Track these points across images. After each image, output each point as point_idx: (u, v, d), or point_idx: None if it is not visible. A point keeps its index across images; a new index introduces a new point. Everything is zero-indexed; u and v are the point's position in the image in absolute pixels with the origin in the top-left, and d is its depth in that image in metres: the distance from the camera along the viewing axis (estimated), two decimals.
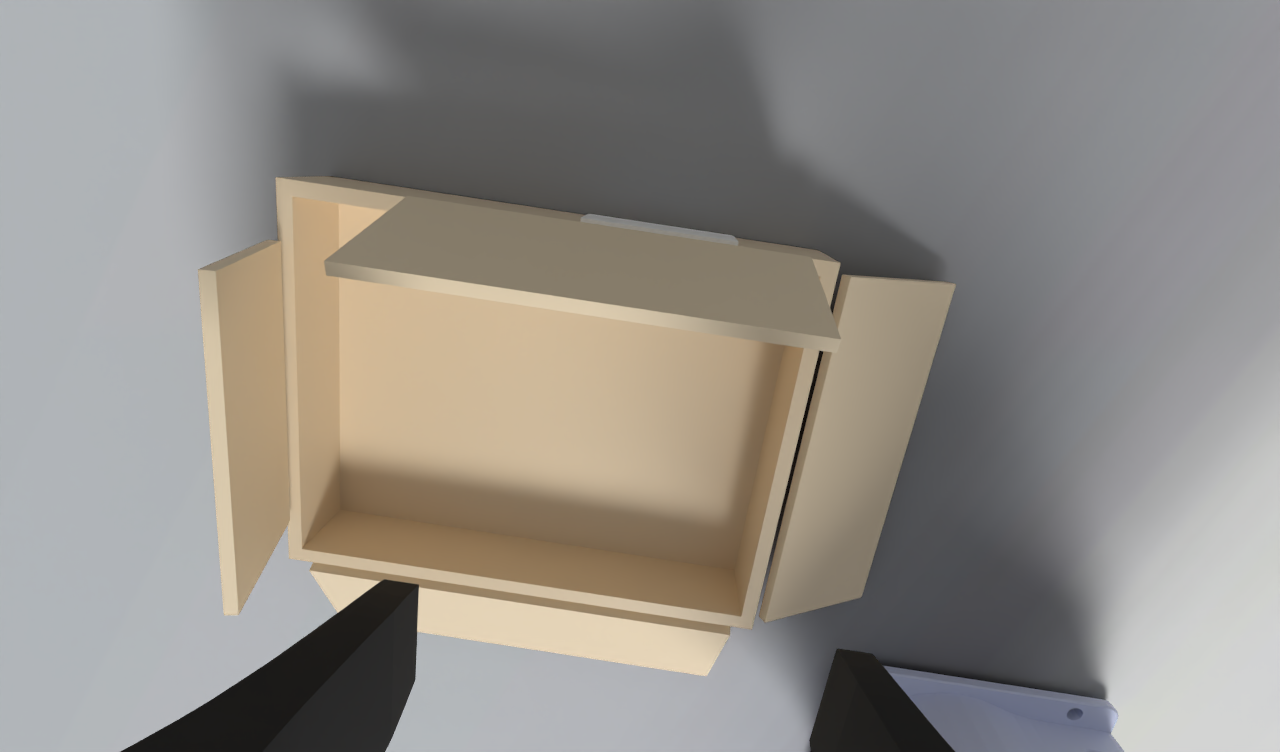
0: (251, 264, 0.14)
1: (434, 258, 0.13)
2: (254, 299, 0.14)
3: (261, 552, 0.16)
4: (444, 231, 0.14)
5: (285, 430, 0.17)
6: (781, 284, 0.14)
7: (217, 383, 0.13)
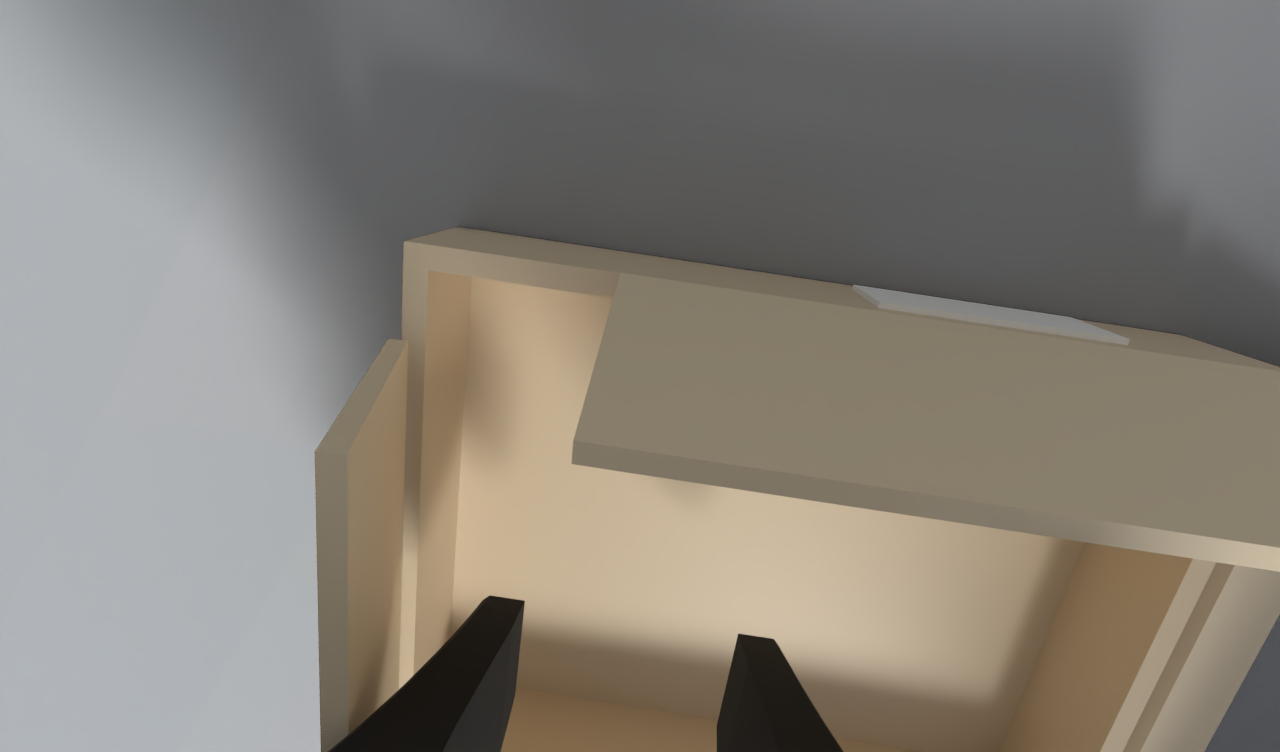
0: (383, 401, 0.08)
1: (754, 418, 0.07)
2: (383, 455, 0.09)
3: None
4: (724, 348, 0.08)
5: (399, 612, 0.12)
6: None
7: (337, 640, 0.07)
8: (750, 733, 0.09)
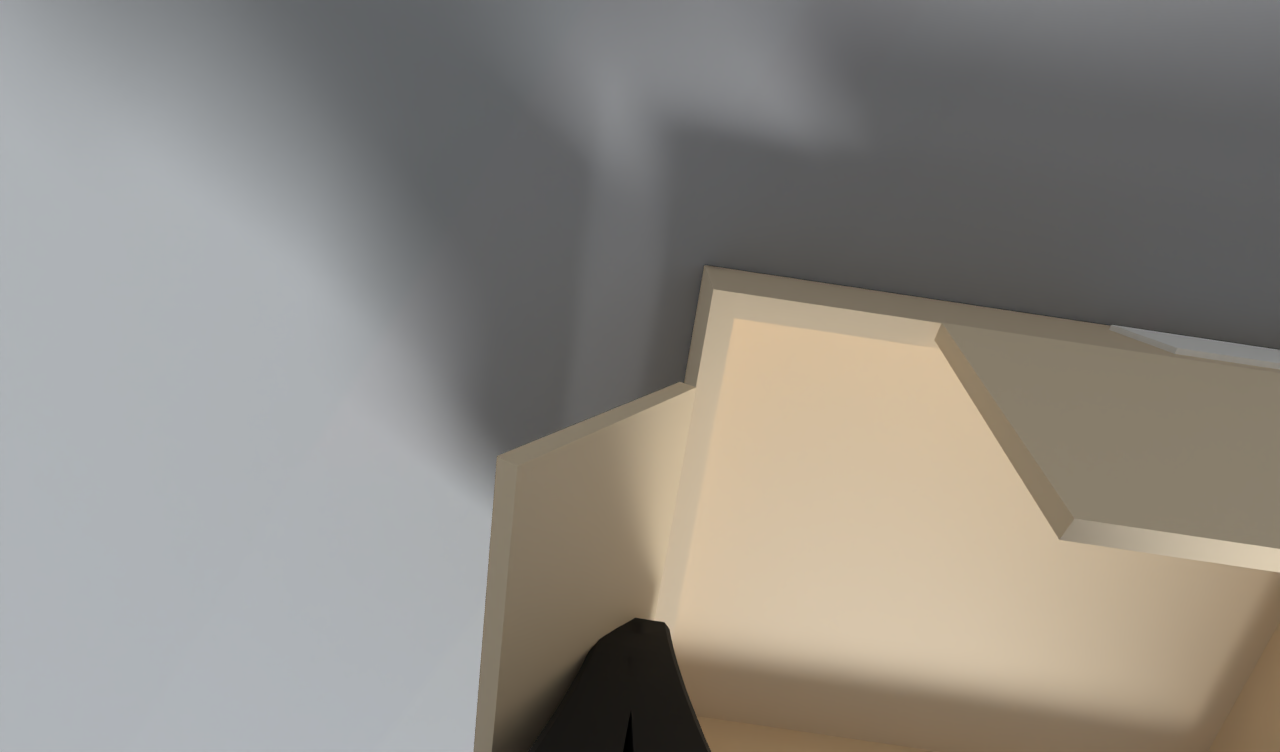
0: (618, 435, 0.08)
1: (1203, 487, 0.07)
2: (614, 488, 0.09)
3: None
4: (1106, 407, 0.08)
5: None
6: None
7: (496, 638, 0.07)
8: None
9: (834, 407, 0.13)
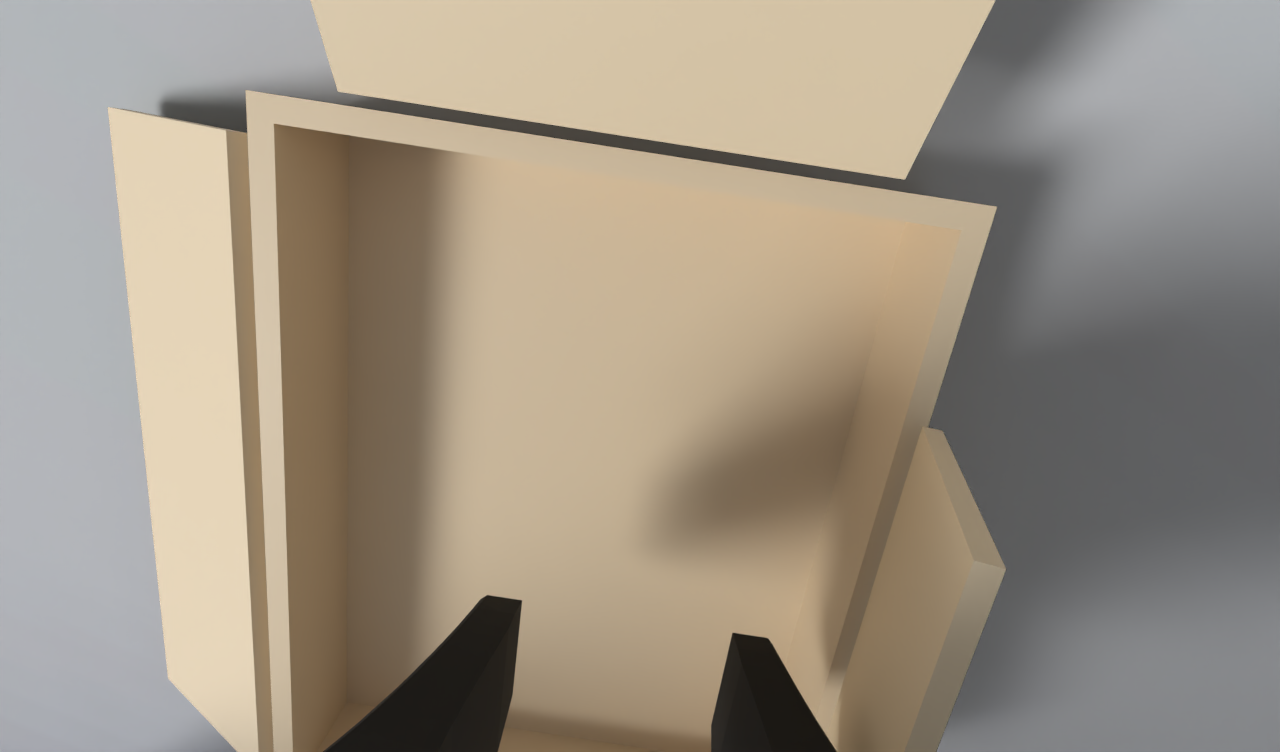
0: (964, 21, 0.07)
1: None
2: (891, 18, 0.07)
3: None
4: None
5: (543, 114, 0.09)
6: None
7: None
8: (743, 732, 0.09)
9: (768, 341, 0.12)
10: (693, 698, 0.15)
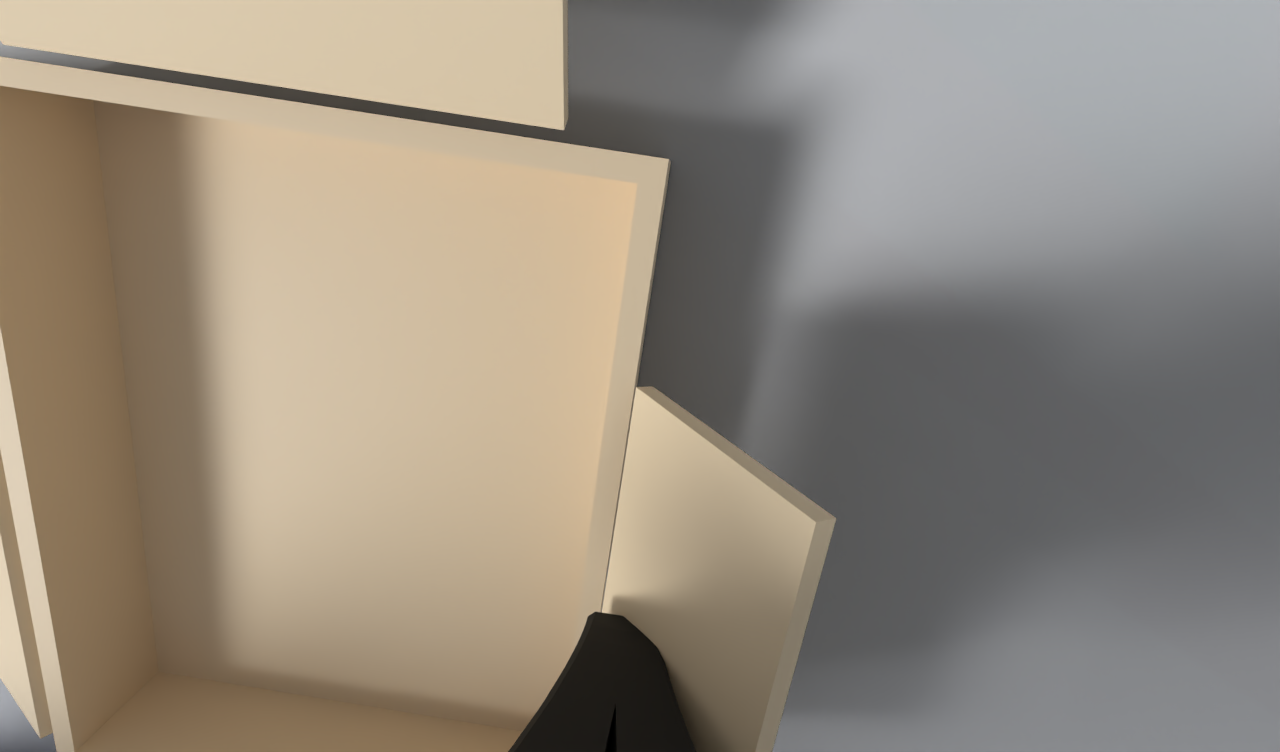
0: None
1: None
2: None
3: None
4: None
5: (200, 66, 0.09)
6: None
7: None
8: None
9: (525, 305, 0.12)
10: (494, 669, 0.15)
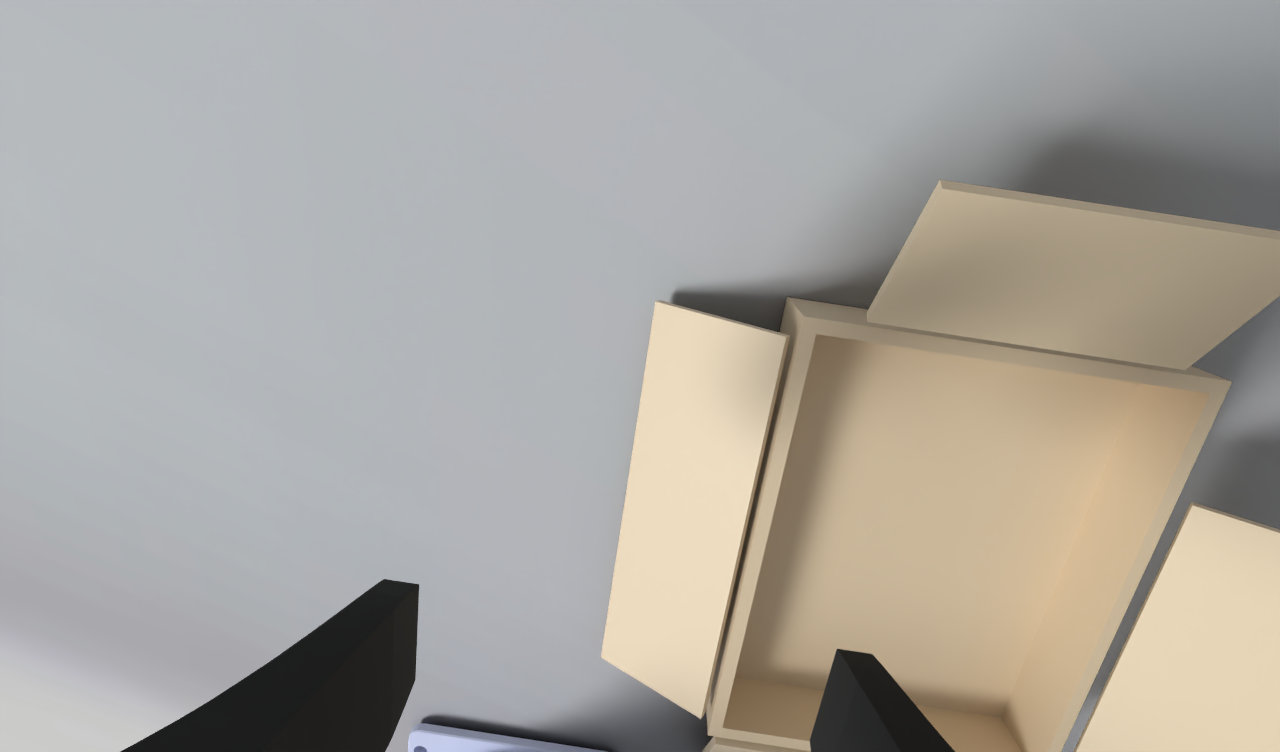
0: (1247, 312, 0.14)
1: None
2: (1209, 309, 0.14)
3: (931, 254, 0.14)
4: None
5: (985, 336, 0.16)
6: None
7: (1221, 228, 0.13)
8: (865, 751, 0.09)
9: (1048, 439, 0.19)
10: (963, 670, 0.22)
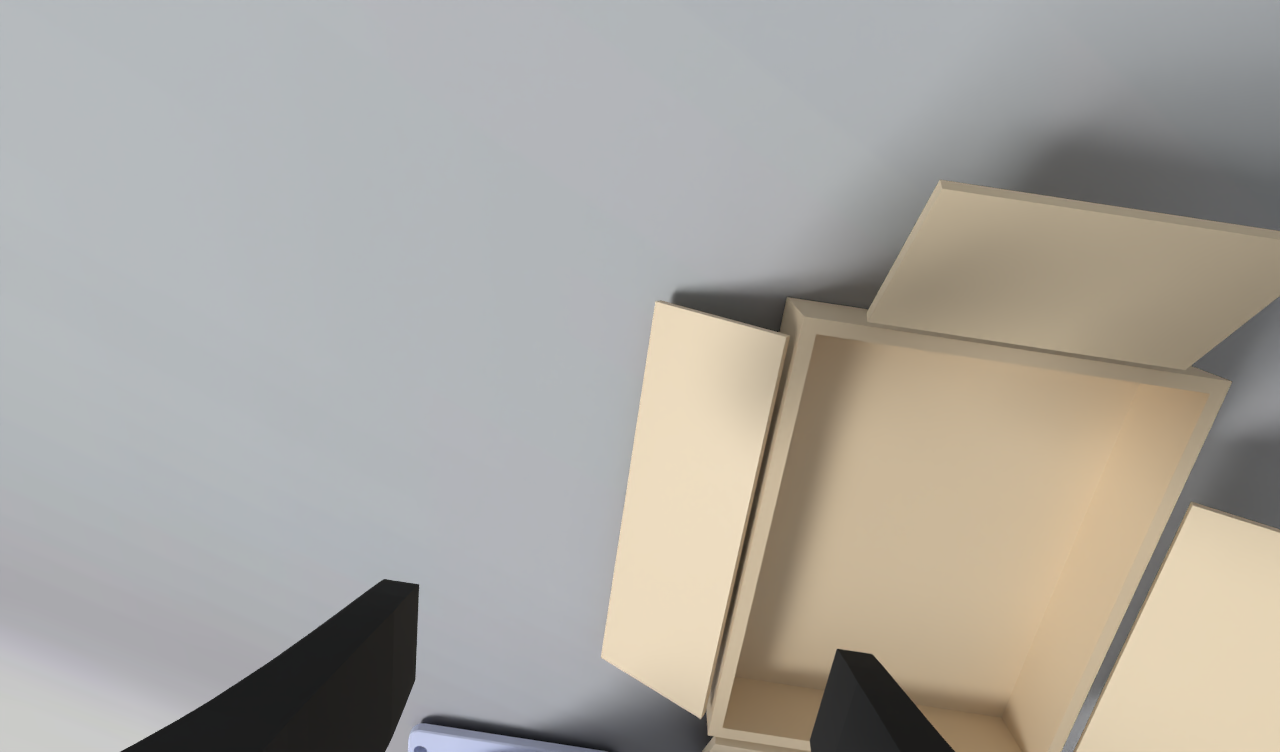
0: (1247, 312, 0.14)
1: None
2: (1209, 309, 0.14)
3: (931, 254, 0.14)
4: None
5: (985, 336, 0.16)
6: None
7: (1221, 228, 0.13)
8: (865, 751, 0.09)
9: (1048, 439, 0.19)
10: (963, 670, 0.22)
